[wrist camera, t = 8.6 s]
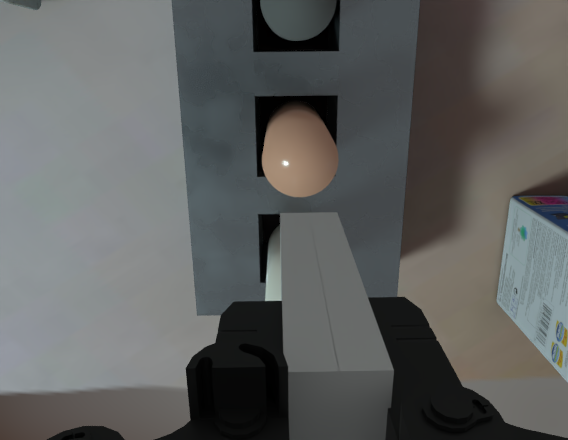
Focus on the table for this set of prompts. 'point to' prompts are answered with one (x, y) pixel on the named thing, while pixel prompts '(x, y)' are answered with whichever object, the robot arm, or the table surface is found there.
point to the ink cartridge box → (538, 274)
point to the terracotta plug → (298, 150)
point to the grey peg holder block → (247, 140)
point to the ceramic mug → (25, 3)
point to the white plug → (274, 267)
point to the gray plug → (297, 17)
